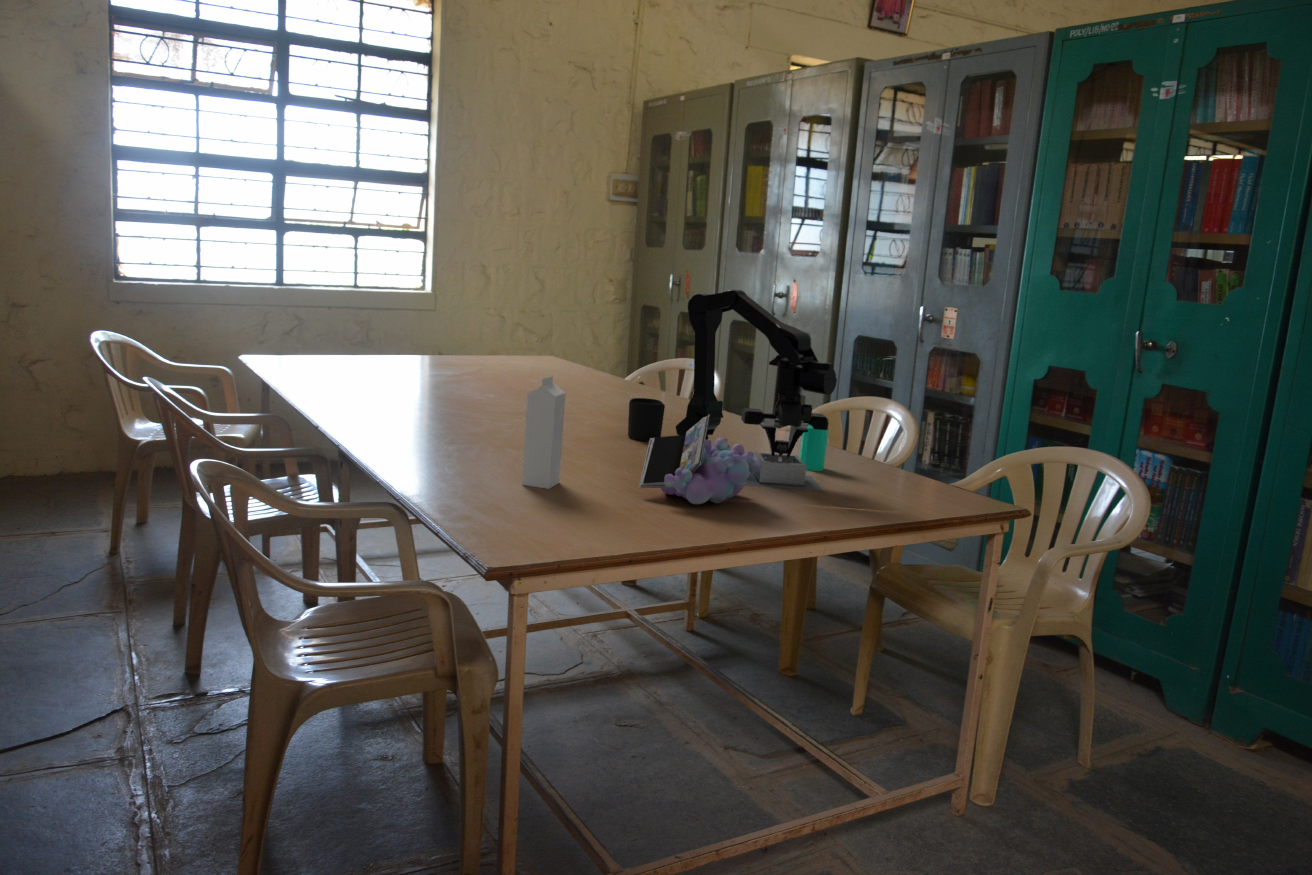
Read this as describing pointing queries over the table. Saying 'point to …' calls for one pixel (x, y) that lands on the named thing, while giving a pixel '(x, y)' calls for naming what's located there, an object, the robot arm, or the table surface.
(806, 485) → the slate mat
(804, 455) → the candle
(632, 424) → the pen holder
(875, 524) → the table surface
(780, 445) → the plunger
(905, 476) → the table surface
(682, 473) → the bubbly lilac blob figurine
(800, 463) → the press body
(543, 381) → the milk
